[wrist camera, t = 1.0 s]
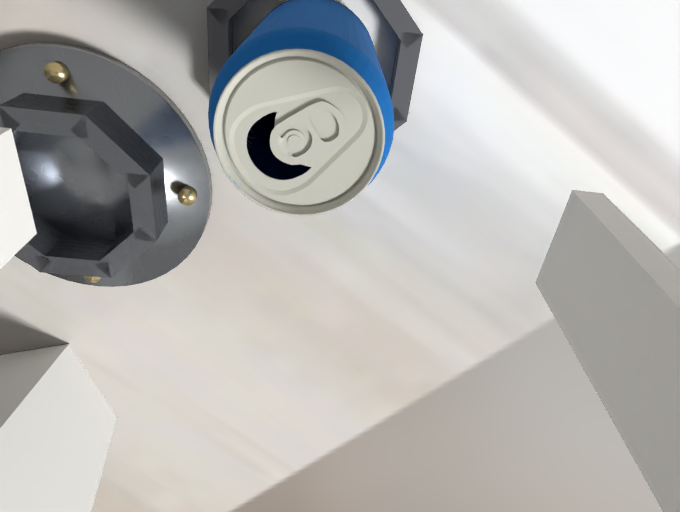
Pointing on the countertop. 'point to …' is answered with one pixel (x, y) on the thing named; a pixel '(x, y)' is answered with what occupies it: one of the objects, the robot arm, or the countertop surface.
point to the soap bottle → (51, 432)
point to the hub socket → (102, 166)
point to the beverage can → (302, 110)
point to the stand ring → (391, 8)
